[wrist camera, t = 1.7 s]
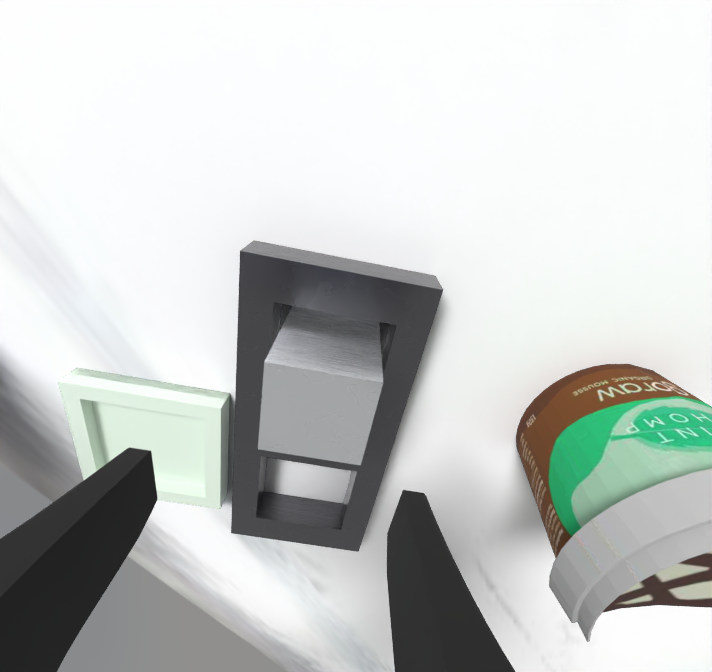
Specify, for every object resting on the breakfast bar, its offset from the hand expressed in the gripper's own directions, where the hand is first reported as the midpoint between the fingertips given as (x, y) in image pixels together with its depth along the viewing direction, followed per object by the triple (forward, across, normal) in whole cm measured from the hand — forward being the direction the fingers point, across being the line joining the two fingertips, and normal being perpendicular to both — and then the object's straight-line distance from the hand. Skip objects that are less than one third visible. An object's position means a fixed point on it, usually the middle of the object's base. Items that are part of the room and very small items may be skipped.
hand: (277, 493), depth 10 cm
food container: (+10, -16, +1) cm, 19 cm away
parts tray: (+10, +9, +10) cm, 17 cm away
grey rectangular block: (+10, -1, +1) cm, 10 cm away
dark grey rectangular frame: (+10, -1, +6) cm, 11 cm away
